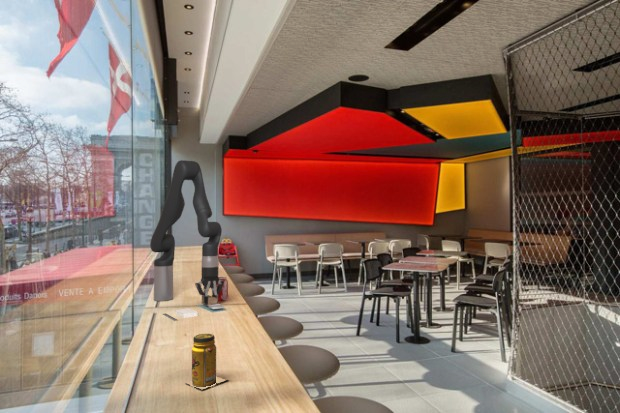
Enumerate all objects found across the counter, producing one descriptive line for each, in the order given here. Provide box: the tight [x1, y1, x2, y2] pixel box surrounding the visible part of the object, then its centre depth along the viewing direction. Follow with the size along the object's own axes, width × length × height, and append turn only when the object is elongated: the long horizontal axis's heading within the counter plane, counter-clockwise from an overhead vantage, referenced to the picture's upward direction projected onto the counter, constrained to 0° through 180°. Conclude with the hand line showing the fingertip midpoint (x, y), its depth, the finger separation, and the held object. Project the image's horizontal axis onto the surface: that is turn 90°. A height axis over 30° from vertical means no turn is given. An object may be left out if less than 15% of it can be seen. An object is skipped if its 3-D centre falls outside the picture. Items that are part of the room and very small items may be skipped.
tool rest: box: [196, 304, 227, 313], centre depth 190 cm, size 18×7×1 cm, turn 38°
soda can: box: [216, 276, 229, 302], centre depth 207 cm, size 7×7×12 cm
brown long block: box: [201, 294, 225, 309], centre depth 190 cm, size 15×5×4 cm, turn 38°
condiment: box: [191, 333, 220, 387], centre depth 107 cm, size 7×8×12 cm
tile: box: [175, 307, 199, 319], centre depth 176 cm, size 2×6×9 cm
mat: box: [162, 313, 179, 322], centre depth 178 cm, size 15×14×1 cm
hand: (209, 303), depth 191 cm, fingers closed on brown long block, 3 cm apart
